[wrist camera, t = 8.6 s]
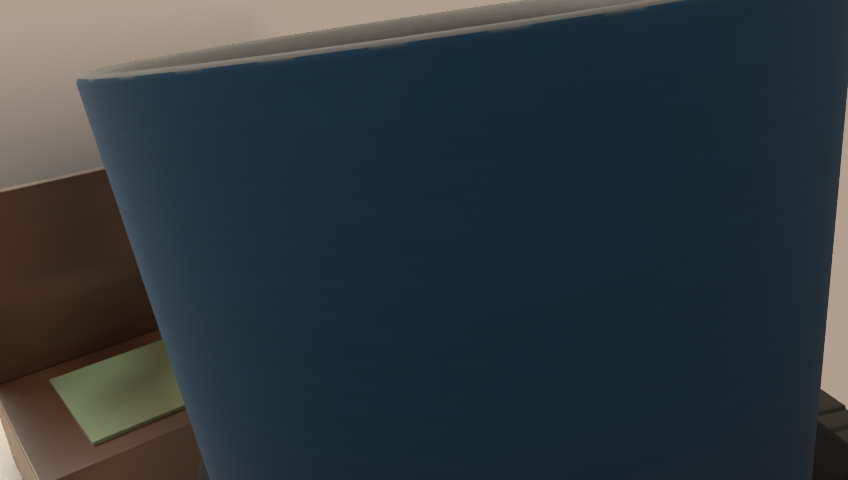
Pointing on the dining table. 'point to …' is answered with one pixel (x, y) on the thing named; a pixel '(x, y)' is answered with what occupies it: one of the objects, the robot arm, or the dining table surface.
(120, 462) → the open wooden box
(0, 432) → the dining table surface
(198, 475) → the robot arm
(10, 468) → the dining table surface
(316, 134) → the cup
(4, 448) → the dining table surface
